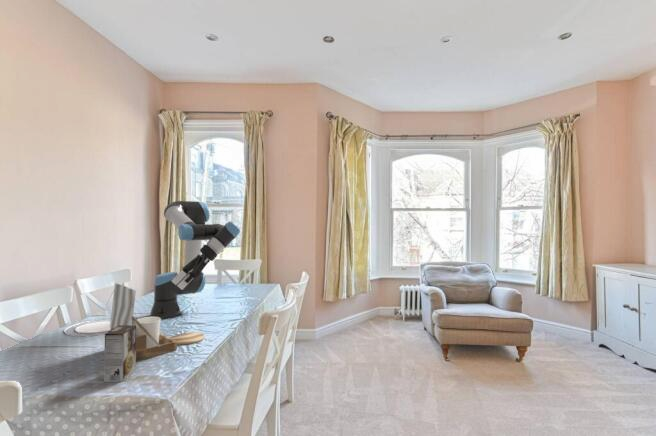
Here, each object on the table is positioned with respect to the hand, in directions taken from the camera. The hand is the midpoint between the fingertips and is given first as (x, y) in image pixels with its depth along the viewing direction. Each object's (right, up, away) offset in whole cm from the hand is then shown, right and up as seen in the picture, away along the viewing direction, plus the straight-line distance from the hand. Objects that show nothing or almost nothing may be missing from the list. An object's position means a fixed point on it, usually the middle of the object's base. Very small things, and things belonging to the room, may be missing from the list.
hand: (176, 285), depth 150 cm
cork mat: (+2, -25, +6) cm, 26 cm away
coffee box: (-5, -25, -32) cm, 41 cm away
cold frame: (-10, -25, -7) cm, 28 cm away
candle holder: (-9, -25, -6) cm, 28 cm away
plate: (-48, -25, +22) cm, 58 cm away
